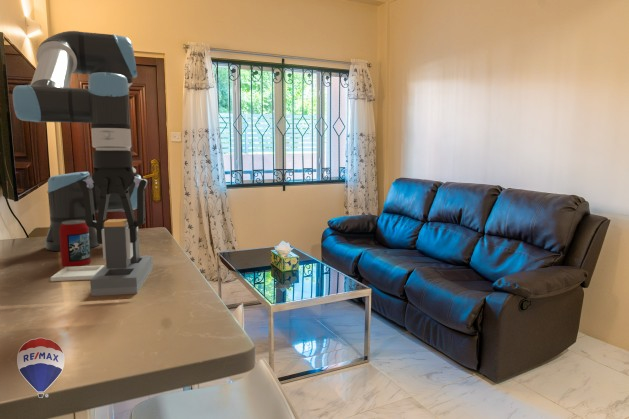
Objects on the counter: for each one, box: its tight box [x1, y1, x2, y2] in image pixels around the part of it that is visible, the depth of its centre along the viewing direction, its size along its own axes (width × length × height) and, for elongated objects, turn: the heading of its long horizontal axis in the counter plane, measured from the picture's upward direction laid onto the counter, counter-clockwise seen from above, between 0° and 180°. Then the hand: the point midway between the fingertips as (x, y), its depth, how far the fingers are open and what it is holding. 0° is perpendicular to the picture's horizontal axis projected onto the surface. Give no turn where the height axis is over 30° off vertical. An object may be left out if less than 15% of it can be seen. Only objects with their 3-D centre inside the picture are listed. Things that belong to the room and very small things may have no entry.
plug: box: [104, 218, 131, 269], centre depth 95 cm, size 4×4×10 cm
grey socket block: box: [89, 254, 154, 297], centre depth 101 cm, size 20×9×4 cm, turn 11°
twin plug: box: [130, 226, 141, 263], centre depth 106 cm, size 4×4×10 cm
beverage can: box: [59, 220, 91, 268], centre depth 115 cm, size 7×7×12 cm
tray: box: [50, 264, 106, 282], centre depth 106 cm, size 9×9×2 cm
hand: (118, 257), depth 96 cm, fingers closed on plug, 4 cm apart
